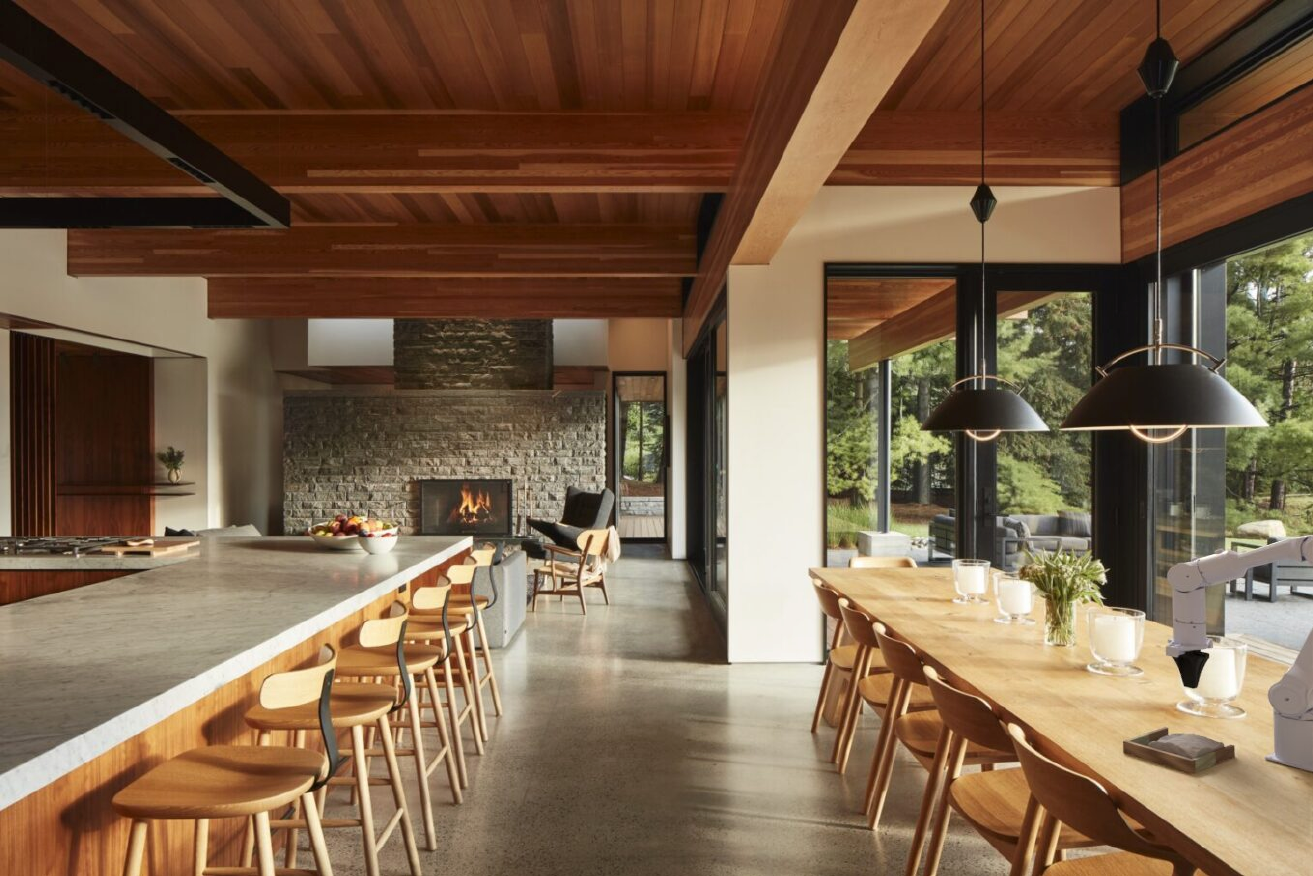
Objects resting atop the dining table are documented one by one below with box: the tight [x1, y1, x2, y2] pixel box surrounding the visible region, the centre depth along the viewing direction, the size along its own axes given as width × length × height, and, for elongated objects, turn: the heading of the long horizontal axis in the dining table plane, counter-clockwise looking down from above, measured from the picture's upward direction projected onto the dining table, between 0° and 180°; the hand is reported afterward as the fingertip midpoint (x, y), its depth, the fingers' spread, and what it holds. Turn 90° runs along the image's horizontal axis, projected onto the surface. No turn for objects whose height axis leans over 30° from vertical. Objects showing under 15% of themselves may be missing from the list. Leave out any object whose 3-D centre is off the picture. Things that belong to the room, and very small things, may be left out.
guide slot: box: [1122, 726, 1236, 774], centre depth 160 cm, size 13×15×2 cm
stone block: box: [1148, 733, 1225, 759], centre depth 159 cm, size 12×5×10 cm
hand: (1190, 687), depth 170 cm, fingers closed
